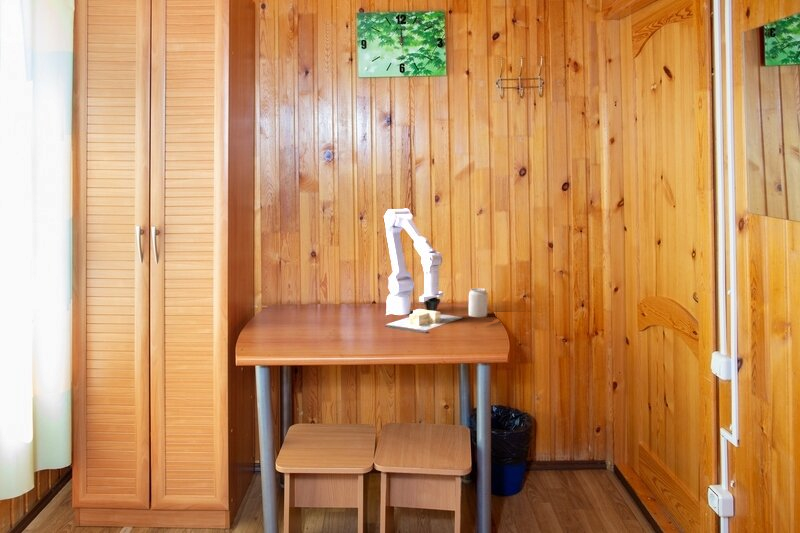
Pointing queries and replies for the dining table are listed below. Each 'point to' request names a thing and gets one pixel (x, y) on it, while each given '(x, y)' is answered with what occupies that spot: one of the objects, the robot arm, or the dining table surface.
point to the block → (424, 317)
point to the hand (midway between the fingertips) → (431, 317)
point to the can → (478, 302)
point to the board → (427, 326)
